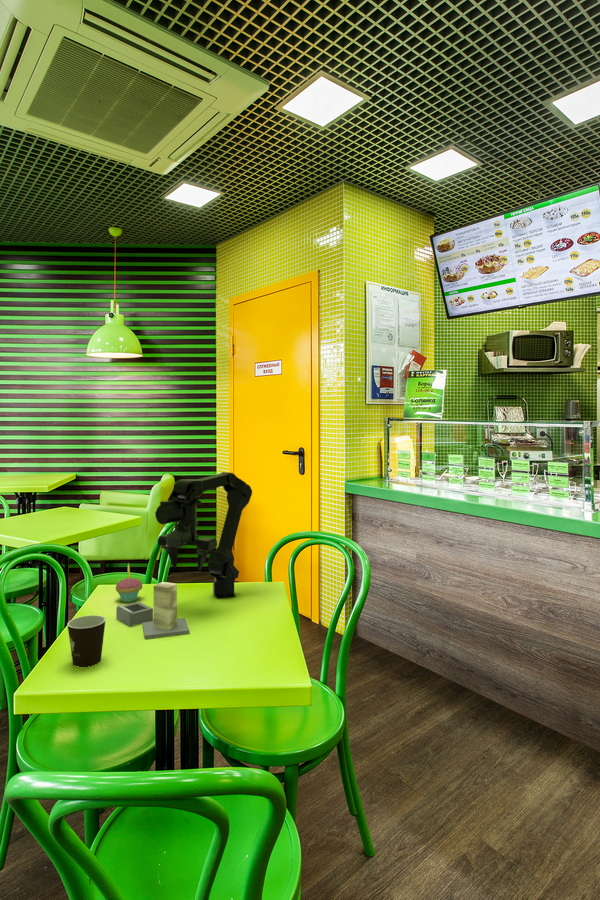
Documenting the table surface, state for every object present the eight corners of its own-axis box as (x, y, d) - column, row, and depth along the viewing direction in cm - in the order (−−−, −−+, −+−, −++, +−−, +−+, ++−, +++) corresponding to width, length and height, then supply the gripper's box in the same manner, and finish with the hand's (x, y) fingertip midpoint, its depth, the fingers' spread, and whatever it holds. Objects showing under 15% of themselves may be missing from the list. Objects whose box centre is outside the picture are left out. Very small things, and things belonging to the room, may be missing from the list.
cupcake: (114, 597, 175) (114, 562, 174) (140, 594, 178) (140, 560, 178) (117, 605, 167) (116, 568, 167) (144, 602, 171) (144, 566, 170)
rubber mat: (184, 621, 154) (184, 617, 154) (189, 633, 145) (189, 630, 145) (142, 625, 150) (142, 622, 150) (144, 639, 141) (144, 635, 141)
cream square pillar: (162, 622, 150) (162, 581, 150) (176, 625, 148) (176, 583, 148) (153, 627, 147) (153, 585, 146) (168, 630, 145) (168, 587, 144)
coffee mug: (104, 667, 124) (104, 626, 124) (65, 671, 122) (64, 630, 121) (107, 647, 135) (107, 609, 135) (72, 651, 133) (71, 612, 133)
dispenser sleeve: (139, 612, 161) (139, 599, 161) (152, 620, 155) (152, 605, 155) (116, 618, 156) (116, 604, 155) (129, 626, 150) (129, 611, 149)
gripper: (146, 521, 159) (146, 572, 160) (198, 526, 152) (198, 578, 153) (168, 516, 169) (168, 563, 170) (218, 520, 163) (217, 569, 163)
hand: (187, 568), depth 164 cm, fingers open, 9 cm apart
